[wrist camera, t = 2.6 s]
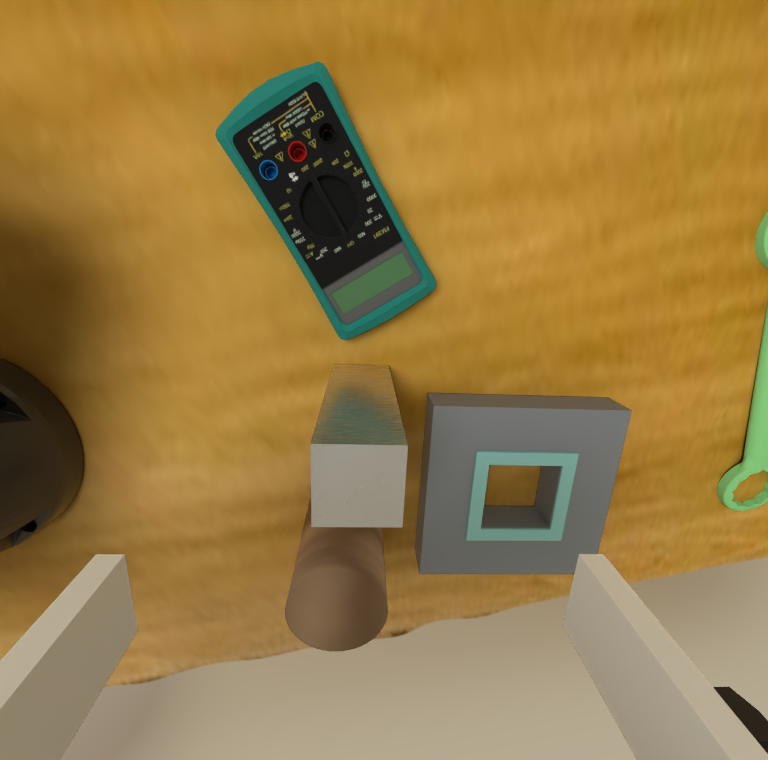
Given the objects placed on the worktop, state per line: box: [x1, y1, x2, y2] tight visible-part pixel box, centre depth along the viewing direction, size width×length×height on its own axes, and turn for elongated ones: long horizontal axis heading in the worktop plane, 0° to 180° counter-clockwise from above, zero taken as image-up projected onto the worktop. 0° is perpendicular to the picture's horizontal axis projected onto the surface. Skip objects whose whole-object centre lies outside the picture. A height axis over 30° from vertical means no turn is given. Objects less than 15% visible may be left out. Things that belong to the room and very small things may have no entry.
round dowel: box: [285, 498, 388, 651], centre depth 27 cm, size 6×6×10 cm
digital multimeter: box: [216, 62, 436, 340], centre depth 25 cm, size 7×15×3 cm, turn 30°
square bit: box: [311, 364, 408, 528], centre depth 23 cm, size 4×4×13 cm
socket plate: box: [415, 393, 632, 574], centre depth 31 cm, size 14×14×3 cm
